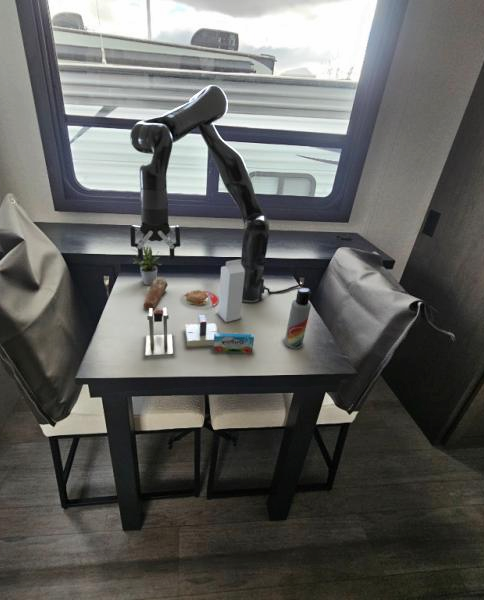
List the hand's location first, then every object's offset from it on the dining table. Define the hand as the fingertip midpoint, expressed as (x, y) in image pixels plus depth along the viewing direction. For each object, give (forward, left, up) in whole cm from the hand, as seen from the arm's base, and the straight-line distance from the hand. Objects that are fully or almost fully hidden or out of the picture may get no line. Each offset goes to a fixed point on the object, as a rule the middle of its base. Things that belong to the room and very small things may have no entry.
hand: (156, 259), depth 95 cm
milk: (-25, -4, -24) cm, 35 cm away
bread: (+1, -18, -24) cm, 30 cm away
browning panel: (-13, +9, -24) cm, 29 cm away
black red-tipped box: (-13, +9, -21) cm, 27 cm away
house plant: (+5, -35, -24) cm, 43 cm away
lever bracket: (0, +12, -24) cm, 27 cm away
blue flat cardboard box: (-22, +16, -24) cm, 37 cm away
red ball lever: (0, +8, -17) cm, 19 cm away
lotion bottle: (-43, +14, -24) cm, 51 cm away
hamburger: (-16, -17, -24) cm, 34 cm away
